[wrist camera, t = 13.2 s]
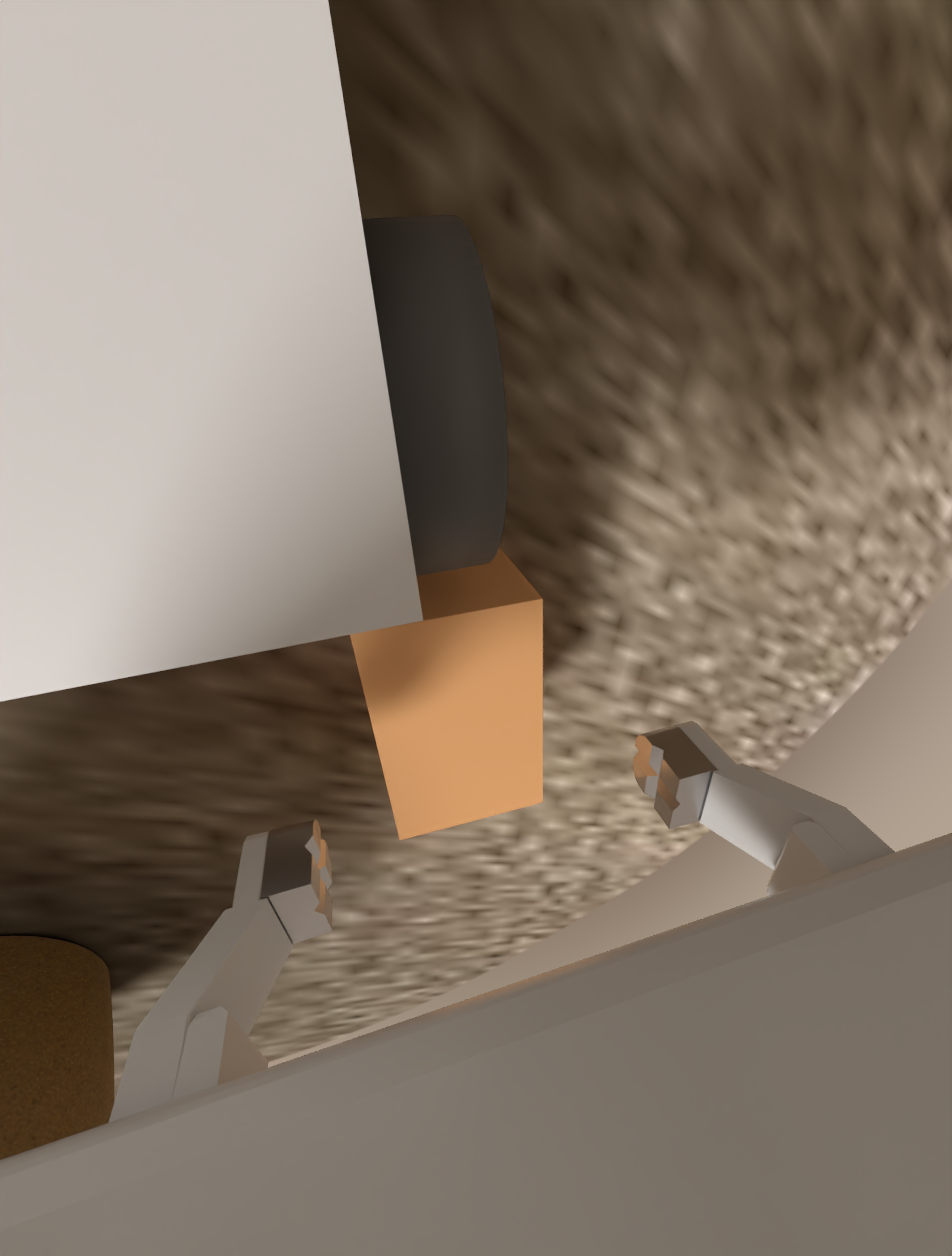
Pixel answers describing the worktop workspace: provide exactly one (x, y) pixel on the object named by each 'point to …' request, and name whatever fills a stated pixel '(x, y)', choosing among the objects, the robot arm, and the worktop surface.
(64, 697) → the worktop surface
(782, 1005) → the robot arm
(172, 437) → the cart
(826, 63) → the worktop surface
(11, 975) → the plant pot
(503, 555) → the block
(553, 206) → the worktop surface
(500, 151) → the worktop surface
